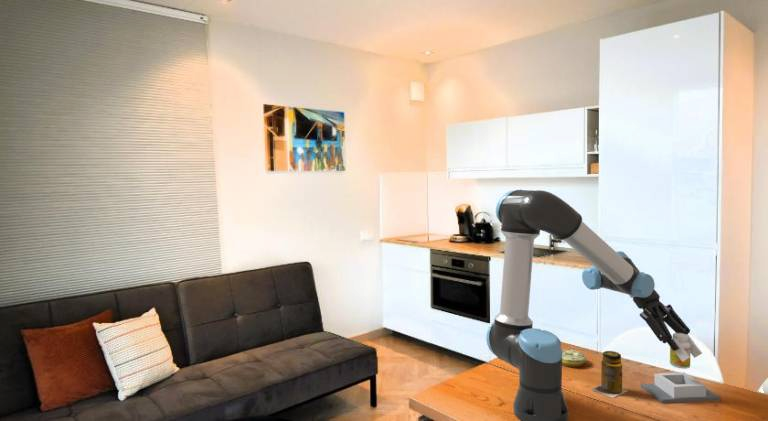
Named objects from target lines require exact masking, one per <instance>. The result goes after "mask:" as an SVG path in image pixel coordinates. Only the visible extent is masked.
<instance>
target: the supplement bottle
mask: <svg viewBox="0 0 768 421" xmlns="http://www.w3.org/2000/svg"><path fill="white" fill-rule="evenodd" d="M688 335H689V334H688ZM688 335H686V334H682V333H676V332H674V333H672V337H673V338H676V339H677V341H678V342H679V343H680V344H681V346H682V347H683V348H684V350H685V351H686V352H687V353H688V355H689V356H690V358H688V359H687V360H685V361H683V362H682V361H681V359H680V358H679V357H678V355H677V354H676V353H675V351H673V350H672V348H671V347H670V346H669V364H670V365H671V367H674V368H677V369H689V368H691V353H690V351H691V346H690V343H689V342H687V341H688ZM673 338H672V339H673Z"/></svg>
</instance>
